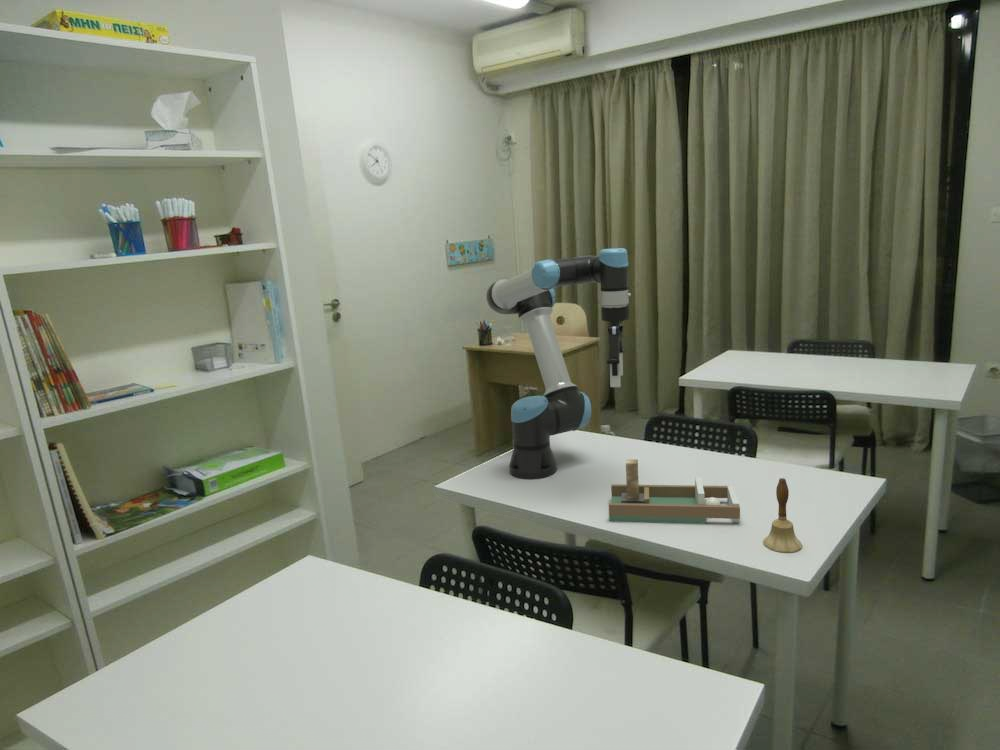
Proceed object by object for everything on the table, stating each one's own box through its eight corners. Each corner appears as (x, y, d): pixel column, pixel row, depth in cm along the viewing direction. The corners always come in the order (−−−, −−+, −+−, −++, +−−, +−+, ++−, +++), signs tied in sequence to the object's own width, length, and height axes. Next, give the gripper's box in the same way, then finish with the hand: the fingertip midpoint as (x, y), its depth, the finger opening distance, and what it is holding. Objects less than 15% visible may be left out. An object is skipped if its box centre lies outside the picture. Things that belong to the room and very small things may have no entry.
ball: (701, 507, 168) (713, 497, 167) (700, 501, 172) (712, 491, 171) (713, 518, 168) (725, 508, 167) (711, 511, 172) (723, 502, 171)
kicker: (621, 510, 171) (619, 466, 169) (622, 497, 179) (620, 456, 176) (649, 510, 169) (648, 466, 167) (649, 498, 177) (648, 456, 175)
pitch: (609, 521, 169) (608, 493, 168) (612, 499, 183) (611, 474, 181) (739, 524, 162) (739, 496, 161) (732, 501, 175) (732, 475, 174)
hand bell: (760, 549, 149) (761, 483, 146) (765, 534, 156) (766, 471, 153) (800, 555, 145) (802, 488, 142) (803, 539, 152) (805, 474, 149)
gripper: (626, 311, 167) (628, 392, 171) (630, 299, 190) (632, 370, 195) (597, 312, 168) (599, 392, 173) (604, 300, 192) (606, 371, 197)
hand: (616, 381), depth 184 cm, fingers open, 13 cm apart
